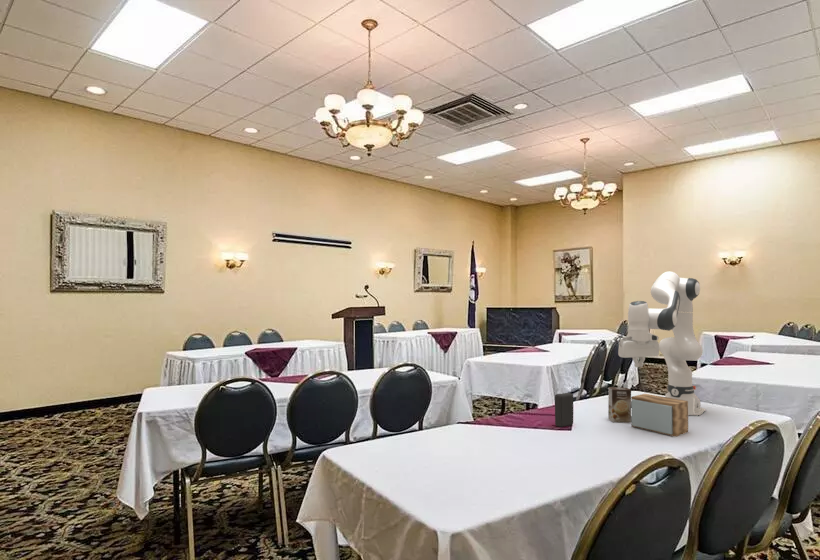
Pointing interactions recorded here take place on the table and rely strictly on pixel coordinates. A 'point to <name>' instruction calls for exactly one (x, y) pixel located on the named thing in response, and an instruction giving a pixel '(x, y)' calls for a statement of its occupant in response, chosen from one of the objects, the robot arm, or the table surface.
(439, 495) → the table surface
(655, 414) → the door
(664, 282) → the robot arm
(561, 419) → the card reader
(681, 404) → the cabinet
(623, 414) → the coffee box
